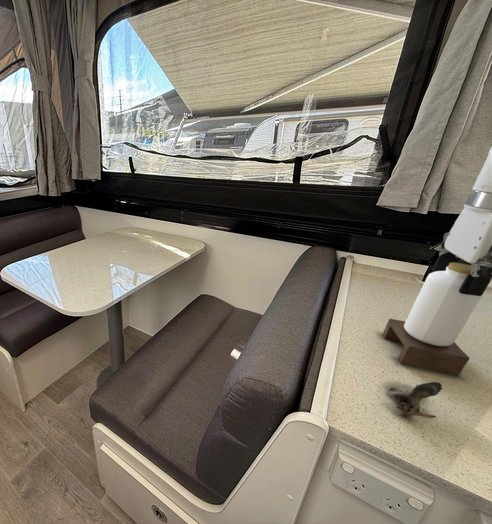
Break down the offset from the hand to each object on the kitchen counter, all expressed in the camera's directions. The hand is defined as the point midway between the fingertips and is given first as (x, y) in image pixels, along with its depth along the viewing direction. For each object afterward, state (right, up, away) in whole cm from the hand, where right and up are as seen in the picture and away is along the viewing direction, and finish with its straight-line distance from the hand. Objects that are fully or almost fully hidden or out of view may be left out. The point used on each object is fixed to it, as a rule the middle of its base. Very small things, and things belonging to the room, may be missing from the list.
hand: (454, 283), depth 57 cm
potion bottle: (0, -13, +6) cm, 14 cm away
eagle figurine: (-14, -24, -4) cm, 28 cm away
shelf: (0, -18, +8) cm, 20 cm away
